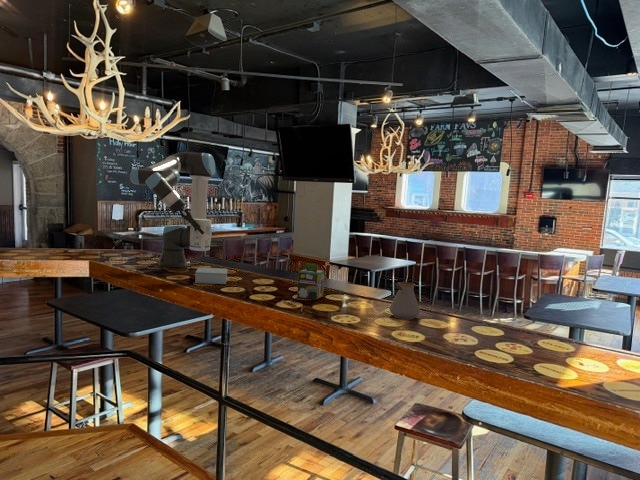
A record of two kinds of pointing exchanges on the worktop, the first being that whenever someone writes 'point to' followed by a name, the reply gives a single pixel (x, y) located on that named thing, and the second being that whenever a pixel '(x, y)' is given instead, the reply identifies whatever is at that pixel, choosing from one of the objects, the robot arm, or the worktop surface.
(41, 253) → the worktop surface
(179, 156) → the robot arm
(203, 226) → the supplement tub
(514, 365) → the worktop surface
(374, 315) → the worktop surface
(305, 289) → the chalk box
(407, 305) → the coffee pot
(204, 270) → the slate-blue box
